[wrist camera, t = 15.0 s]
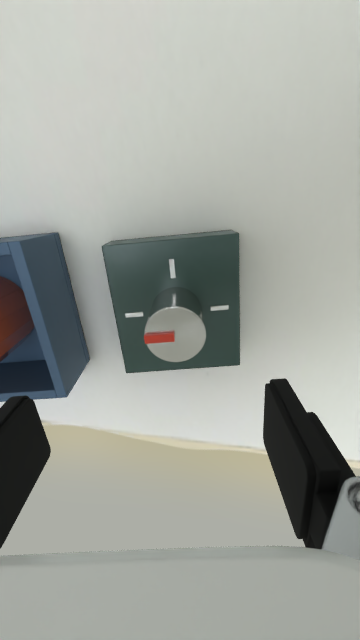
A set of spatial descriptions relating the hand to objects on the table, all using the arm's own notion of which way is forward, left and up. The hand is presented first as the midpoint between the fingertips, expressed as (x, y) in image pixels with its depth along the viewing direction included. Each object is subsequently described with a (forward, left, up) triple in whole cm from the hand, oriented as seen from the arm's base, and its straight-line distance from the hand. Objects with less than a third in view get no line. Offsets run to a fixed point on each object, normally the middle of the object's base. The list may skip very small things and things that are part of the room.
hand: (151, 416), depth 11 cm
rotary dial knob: (-1, 0, -12) cm, 12 cm away
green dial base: (-1, 0, -15) cm, 15 cm away
